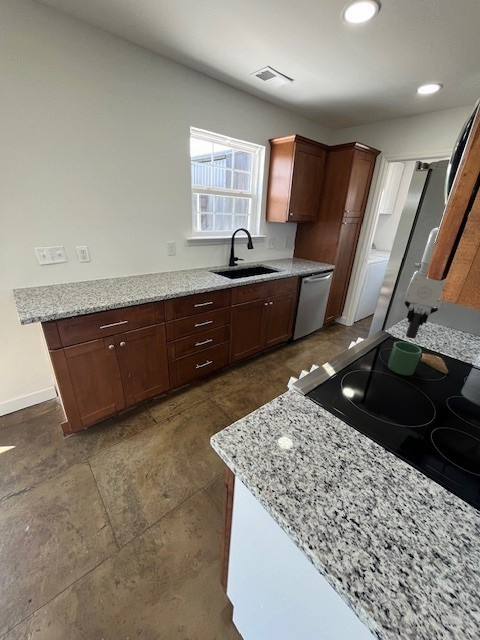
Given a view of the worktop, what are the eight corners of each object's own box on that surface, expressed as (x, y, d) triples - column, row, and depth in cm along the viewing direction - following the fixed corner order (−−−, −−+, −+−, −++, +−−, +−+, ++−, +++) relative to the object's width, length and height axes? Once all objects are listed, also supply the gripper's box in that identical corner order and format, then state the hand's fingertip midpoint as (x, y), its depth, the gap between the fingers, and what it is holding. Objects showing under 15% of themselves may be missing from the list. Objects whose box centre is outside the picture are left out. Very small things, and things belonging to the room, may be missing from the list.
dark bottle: (417, 338, 92) (427, 308, 87) (411, 339, 91) (421, 309, 86) (409, 334, 94) (419, 305, 90) (403, 335, 93) (413, 306, 89)
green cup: (419, 372, 96) (427, 351, 92) (401, 377, 93) (409, 355, 89) (399, 360, 103) (405, 340, 99) (382, 364, 100) (388, 343, 97)
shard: (447, 375, 95) (449, 371, 94) (422, 370, 97) (424, 365, 97) (440, 360, 104) (442, 356, 103) (418, 356, 107) (419, 352, 106)
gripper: (401, 266, 85) (386, 318, 92) (465, 276, 76) (443, 333, 83) (406, 263, 90) (391, 313, 98) (466, 272, 81) (445, 326, 88)
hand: (415, 322), depth 90 cm, fingers closed on dark bottle, 3 cm apart
